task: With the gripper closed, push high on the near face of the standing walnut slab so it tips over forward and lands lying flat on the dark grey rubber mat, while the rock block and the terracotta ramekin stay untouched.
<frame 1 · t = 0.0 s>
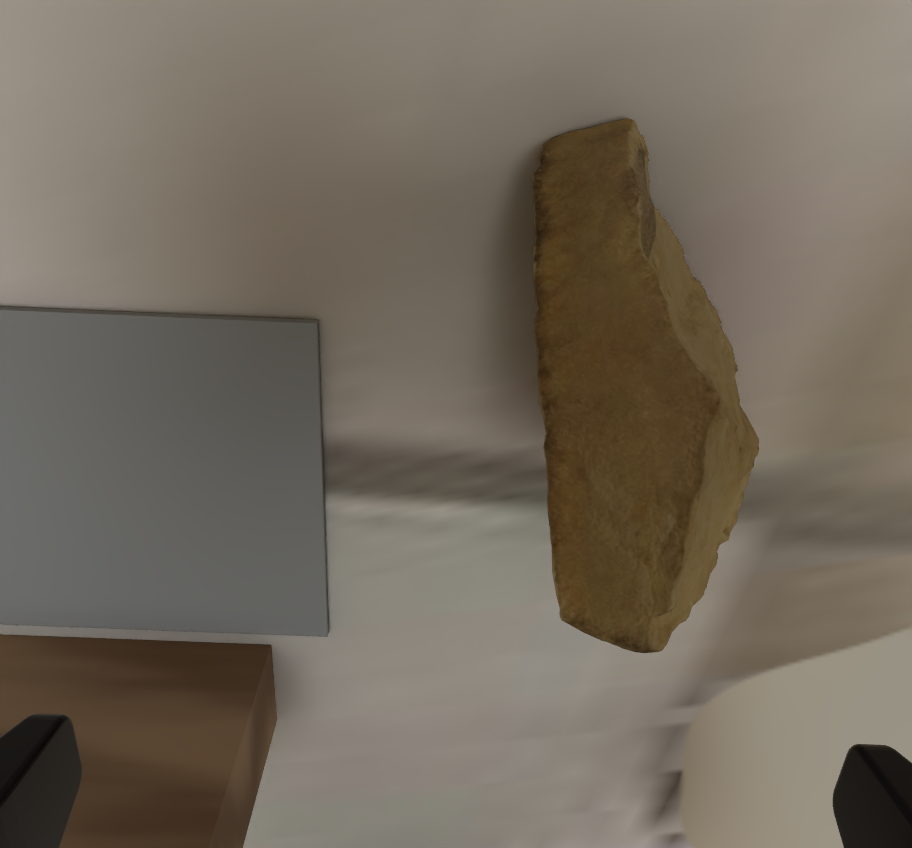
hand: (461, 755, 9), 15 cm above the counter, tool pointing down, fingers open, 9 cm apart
mat: (63, 479, 25), on the counter
rock: (641, 313, 23), on the counter
slab: (103, 675, 28), on the counter
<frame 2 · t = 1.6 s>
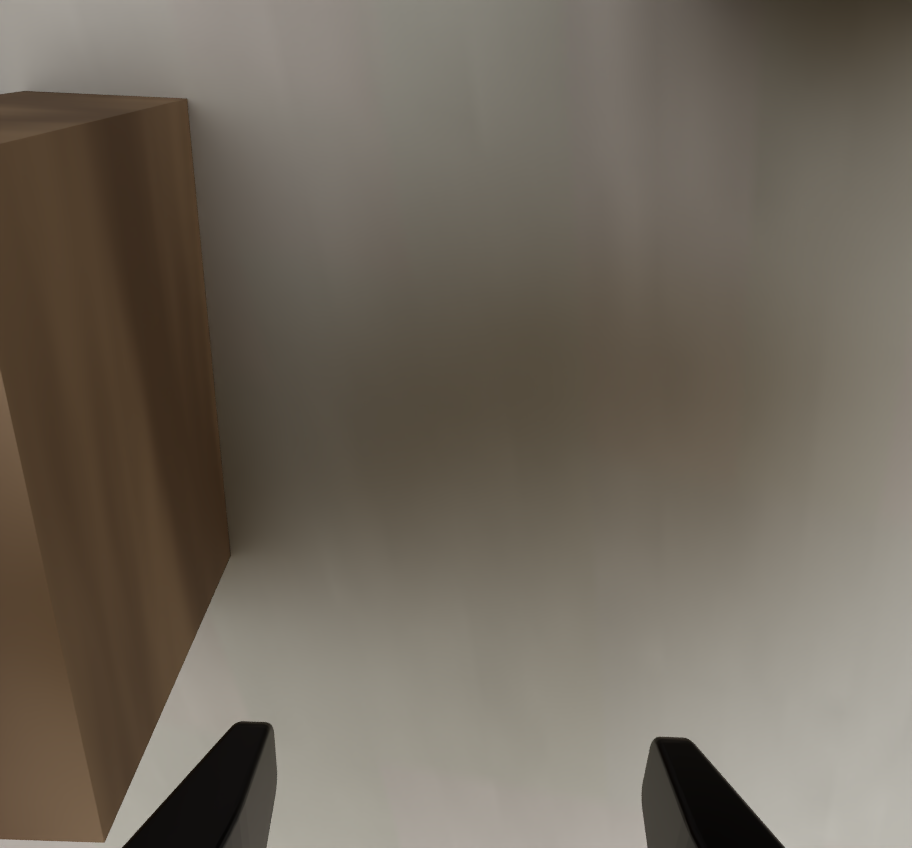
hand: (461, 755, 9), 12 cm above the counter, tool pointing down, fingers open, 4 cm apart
slab: (142, 353, 20), on the counter
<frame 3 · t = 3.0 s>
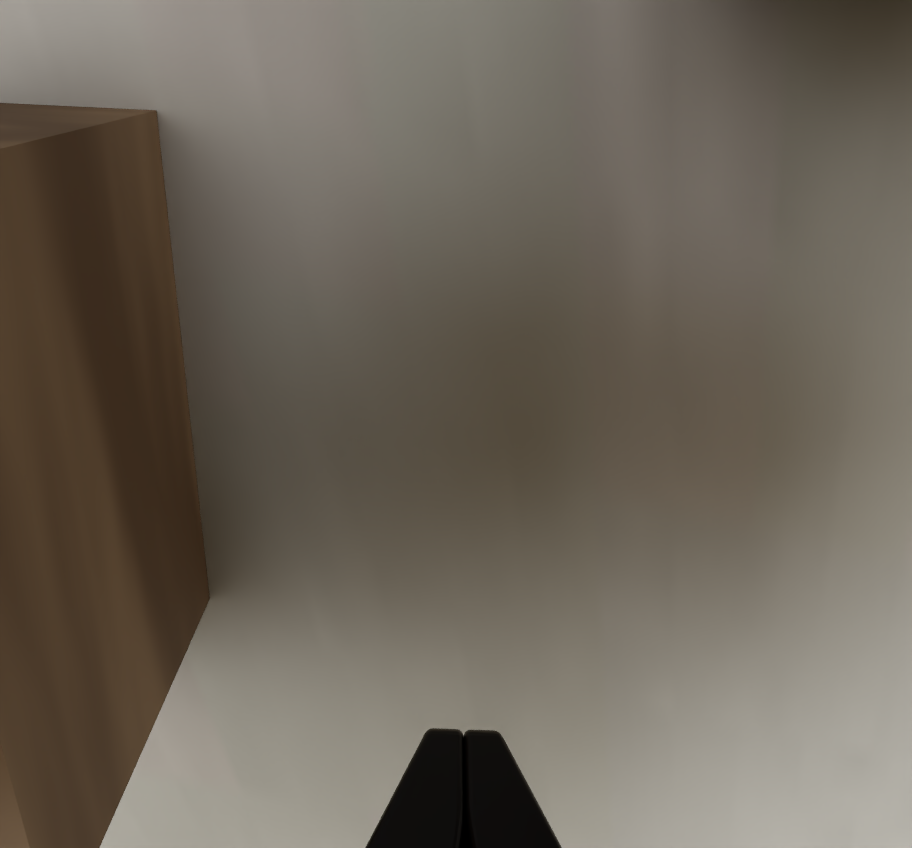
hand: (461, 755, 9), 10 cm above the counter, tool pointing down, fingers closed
slab: (111, 384, 19), on the counter
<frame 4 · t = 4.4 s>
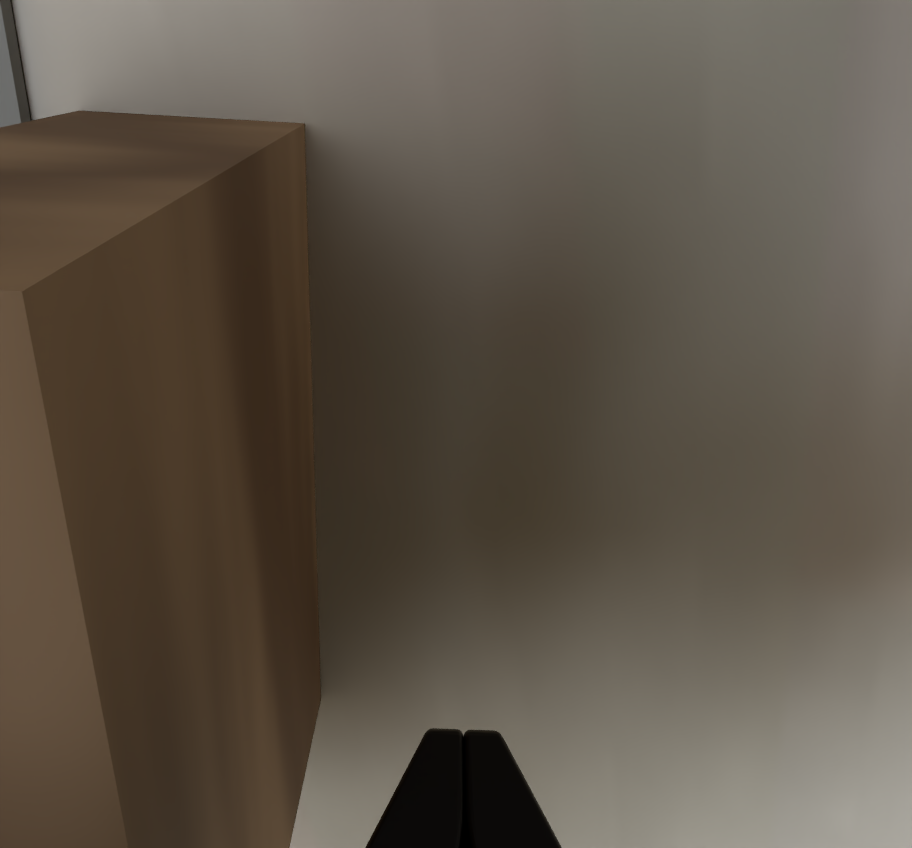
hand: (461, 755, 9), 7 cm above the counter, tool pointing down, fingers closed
slab: (222, 454, 15), on the counter
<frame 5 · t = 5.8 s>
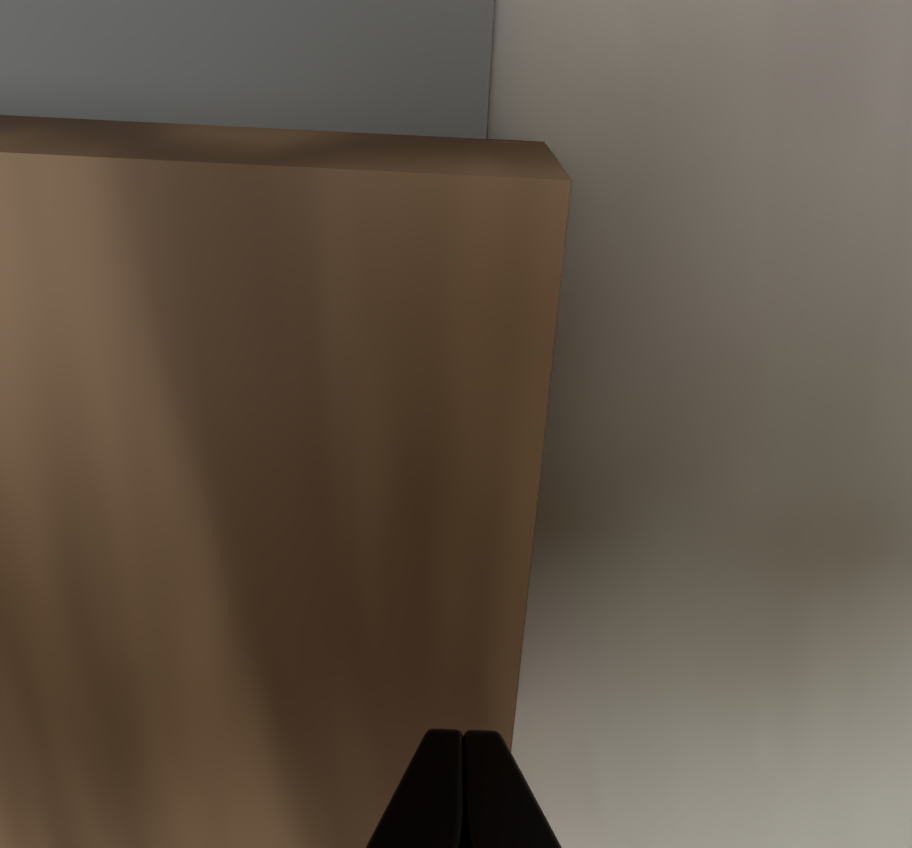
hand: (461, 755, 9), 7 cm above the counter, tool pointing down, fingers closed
mat: (173, 458, 15), on the counter
slab: (519, 534, 13), point 2 cm above the counter, tilted 90°, touching mat
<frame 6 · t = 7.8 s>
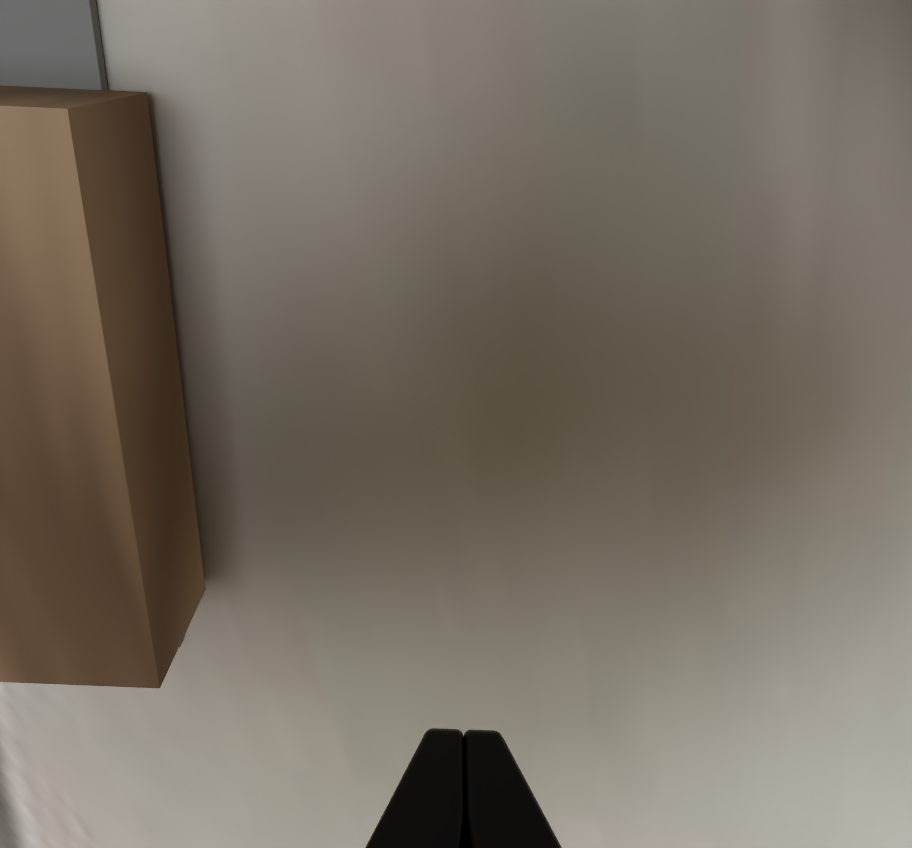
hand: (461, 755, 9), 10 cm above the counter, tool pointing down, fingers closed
slab: (153, 409, 17), point 2 cm above the counter, tilted 90°, touching mat
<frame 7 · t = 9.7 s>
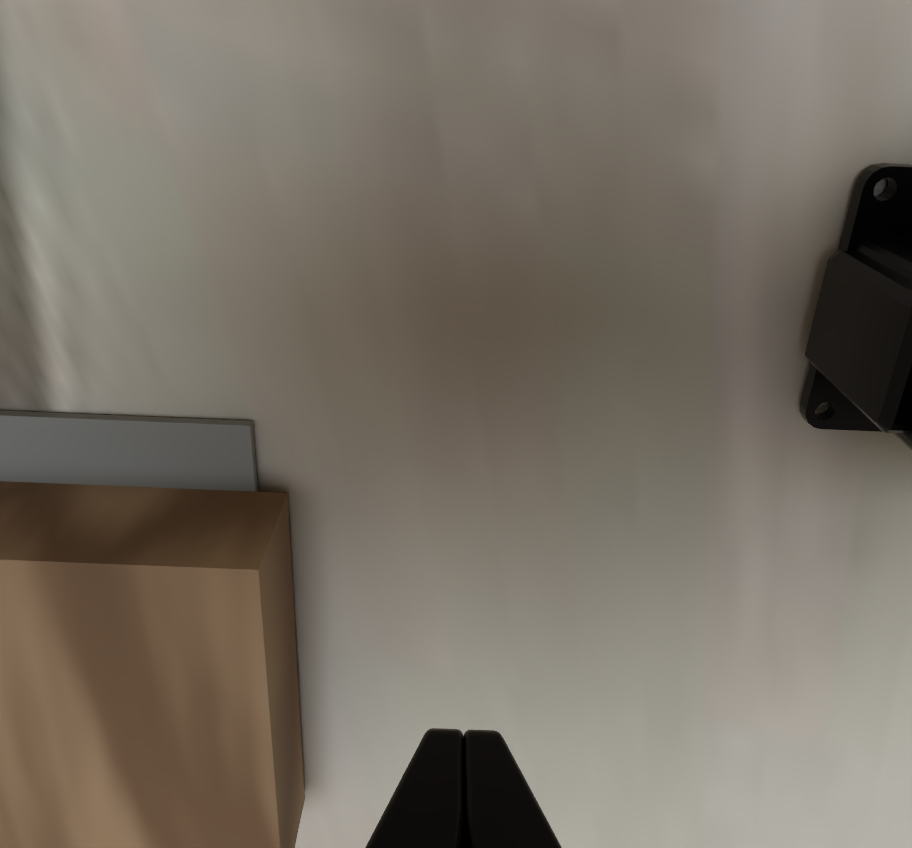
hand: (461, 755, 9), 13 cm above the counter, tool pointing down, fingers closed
mat: (91, 646, 25), on the counter
slab: (285, 704, 23), point 2 cm above the counter, tilted 90°, touching mat
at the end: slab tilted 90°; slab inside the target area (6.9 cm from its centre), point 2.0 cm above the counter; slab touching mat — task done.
